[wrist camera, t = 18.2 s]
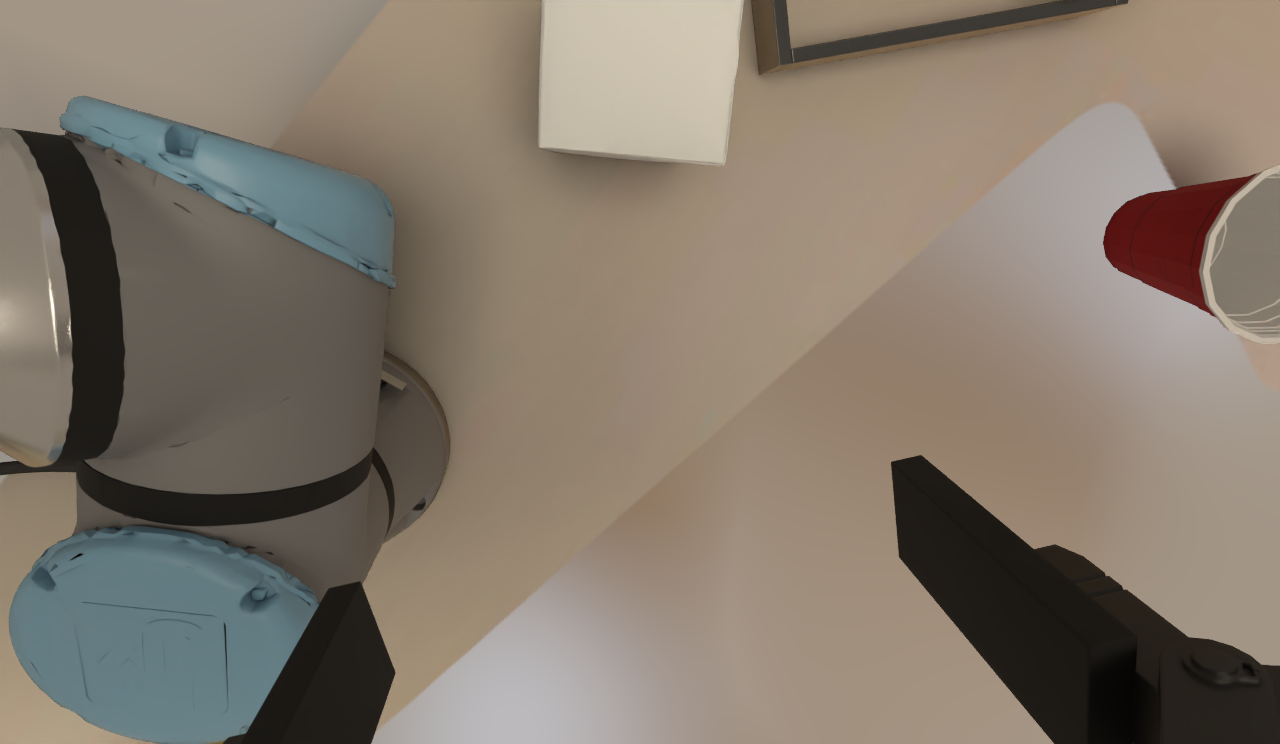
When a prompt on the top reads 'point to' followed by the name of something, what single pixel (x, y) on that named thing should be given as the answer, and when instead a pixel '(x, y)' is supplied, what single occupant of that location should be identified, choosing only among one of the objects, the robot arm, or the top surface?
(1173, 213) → the plastic cup
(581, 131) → the rectangular carton
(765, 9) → the sink
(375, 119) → the top surface
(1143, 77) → the top surface
